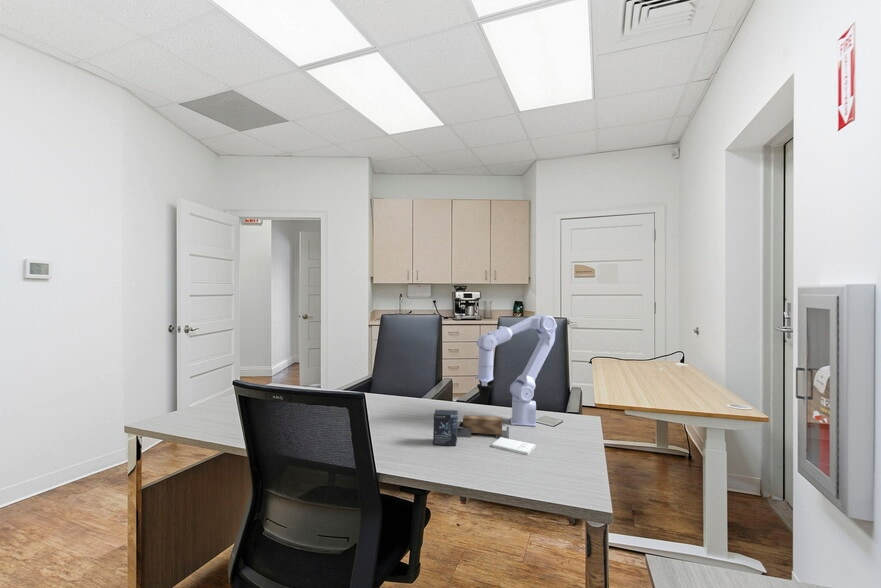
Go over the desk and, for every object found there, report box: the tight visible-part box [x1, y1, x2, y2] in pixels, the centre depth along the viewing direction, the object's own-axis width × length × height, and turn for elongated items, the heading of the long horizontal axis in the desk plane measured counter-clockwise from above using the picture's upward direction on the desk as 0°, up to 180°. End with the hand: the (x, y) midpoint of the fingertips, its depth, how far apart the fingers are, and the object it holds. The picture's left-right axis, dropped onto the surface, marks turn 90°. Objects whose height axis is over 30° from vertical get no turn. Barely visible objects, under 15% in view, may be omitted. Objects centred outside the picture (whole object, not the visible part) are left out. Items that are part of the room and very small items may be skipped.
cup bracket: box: [457, 420, 473, 438], centre depth 151 cm, size 6×8×3 cm
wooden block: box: [462, 414, 503, 435], centre depth 150 cm, size 14×4×5 cm, turn 81°
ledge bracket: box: [495, 426, 510, 439], centre depth 148 cm, size 4×6×2 cm
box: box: [432, 409, 459, 447], centre depth 141 cm, size 8×6×11 cm
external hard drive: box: [491, 437, 537, 456], centre depth 138 cm, size 2×8×12 cm
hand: (485, 400), depth 160 cm, fingers open, 7 cm apart
